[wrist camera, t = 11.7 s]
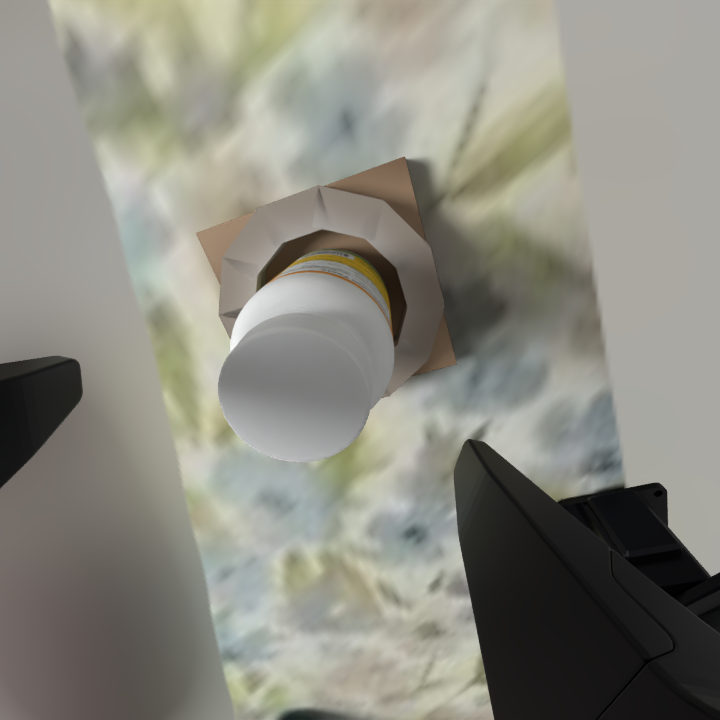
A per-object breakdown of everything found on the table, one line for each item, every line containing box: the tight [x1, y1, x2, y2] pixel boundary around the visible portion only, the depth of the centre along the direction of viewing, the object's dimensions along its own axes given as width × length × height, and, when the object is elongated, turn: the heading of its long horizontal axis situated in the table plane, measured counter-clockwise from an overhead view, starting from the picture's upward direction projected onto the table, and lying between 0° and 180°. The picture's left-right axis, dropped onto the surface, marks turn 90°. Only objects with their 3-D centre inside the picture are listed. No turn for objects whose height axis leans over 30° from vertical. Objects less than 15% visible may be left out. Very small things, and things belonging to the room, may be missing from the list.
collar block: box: [196, 157, 457, 398], centre depth 19 cm, size 10×10×3 cm
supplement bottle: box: [218, 248, 394, 462], centre depth 14 cm, size 5×5×10 cm
